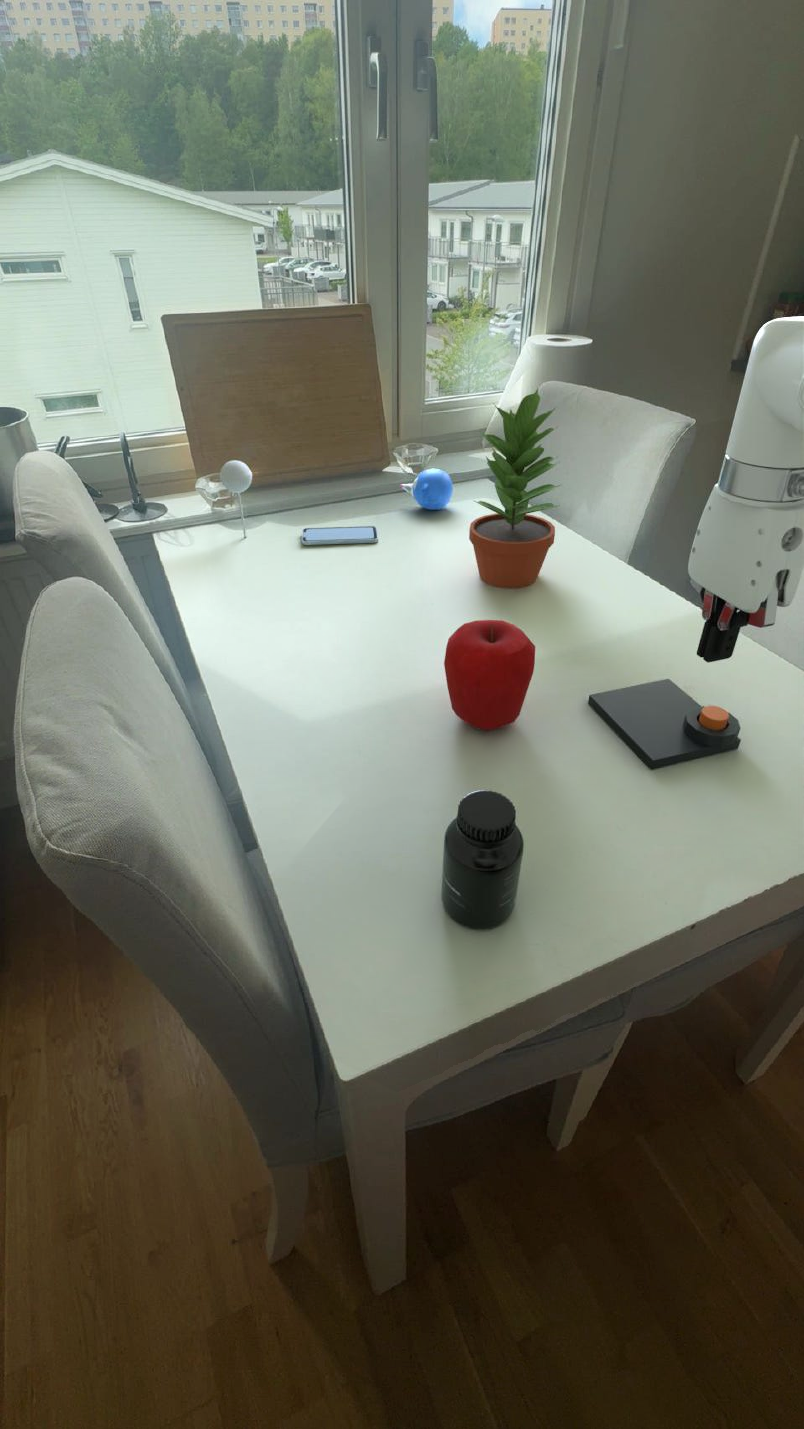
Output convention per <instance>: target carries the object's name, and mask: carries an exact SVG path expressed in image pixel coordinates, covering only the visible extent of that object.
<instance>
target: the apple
mask: <svg viewBox="0 0 804 1429" xmlns="http://www.w3.org/2000/svg"><path fill="white" fill-rule="evenodd" d="M443 661H444V662H443V665H444V672H445V679H446V686H447V691H448V696H449V702H450V705H451V709H452V711H453V712H454V713H455V715H456V716H457V717H458V718H460V719H461V721H463V722H464V723H466V724H468V725H469V726H471V727H473V728H476V729H478V730H481V731H486V732H487V731H488V732H490V731H495V730H498V729H501V728H504V727H507V726H509V725H511V724H514V722H515V721H516V720H517V719H518V717H520V714H521V710H522V709H523V705H524V702H525V699H526V695H527V694H528V693H527V692H528V690H529V687H530V684H531V682H532V681H531V680H532V678H533V675H534V672H535V662H536V645H535V644H534V643H533V641H532V640H531V639H530V637H528V636H527V634H526V633H525V632H524V631H523V630H522V629H520V628H519V627H518V626H516V625H515V624H513V623H510V622H508V621H504V620H499V619H483V620H479V619H478V620H473V621H470V622H466V623H463V624H462V625H460V626H459V627H458V628H457V629H456V630H455V631H454V632H453V633H452V634H451V636H450V637H449V638H448V640H447V643H446V647H445V653H444V660H443Z"/></svg>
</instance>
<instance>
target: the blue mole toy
mask: <svg viewBox="0 0 804 1429" xmlns="http://www.w3.org/2000/svg"><path fill="white" fill-rule="evenodd" d="M399 488H400V489H401V490H404V491H405V492H407V493H408V494H409V495H411V496H412V498H413V499H414V500H415V501H416V502H417V504H418V505H419V506H420V507H421V508H424V509H425V510H430V511H436V510H440V509H443V508H444V507H445V506H447V505H448V504H449V503H450V501H451V499H452V496H453V491H454V486H453V481H452V478H451V477H450V476H449V474H448V473H447V472H446V471H444V470H443V469H439V468H428V469H424V470H423V471H421V472H420V473H419V474H418V475H417V476H416V478H415V479H414V480H413V482H412V483H404V484H403V483H401V484H399Z"/></svg>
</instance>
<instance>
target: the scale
mask: <svg viewBox="0 0 804 1429" xmlns="http://www.w3.org/2000/svg"><path fill="white" fill-rule="evenodd" d="M587 704H588V706H589V707H590V708H591V709H592V710H593V711H594V712H595V713H596V714H597V715H598V716H599V717H600V718H601V719H602V720H603V722H604V723H605V724H606V725H607V726H608V727H609V728H610V729H611V730H613V732H614V733H615V734H616V735H617V736H618V737H619V738H620V739H621V740H622V741H623V742H624V743H625V745H626V746H628V748H629V749H630V750H631V751H632V752H633V753H634V754H635V756H637V757H638V758H639V759H640V760H641V762H642V763H643V764H645V766H646V767H648V769H649V770H650V771H652V770H656V769H660V768H664V767H669V766H673V765H676V764H681V763H686V762H690V761H694V760H697V759H698V760H699V759H701V758H707V757H711V756H715V755H717V754H718V755H719V754H722V753H727V752H731V751H735V750H738V749H739V748H740V744H741V742H742V739H741V738H740V737H739V734H740V731H741V725H740V721H739V719H738V718H737V717H735V716H734V715H733V714H732V713H730V712H728V711H727V712H728V714H729V718H728V721H727V724H726V727H725V728H724V729H723V730H711V729H708V728H706V727H703V726H702V725H701V724H700V723H699V718H700V714H701V711H702V709H703V708H704V707H706V706H705V705H704V706H703V705H701V704H700V703H698V702H697V701H696V700H695V699H694V698H692V697H691V696H690V695H689V694H688V693H686V691H684V690H683V689H682V688H680V687H679V686H678V685H677V684H676V683H675V682H674V681H672V679H670V678H664V679H659V680H655V681H650V682H646V683H641V684H635V685H631V686H626V687H621V688H617V689H611V690H607V691H602V692H596V693H592V694H589V695H588V699H587Z"/></svg>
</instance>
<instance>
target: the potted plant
mask: <svg viewBox="0 0 804 1429" xmlns="http://www.w3.org/2000/svg"><path fill="white" fill-rule="evenodd" d="M540 402H541V396H540V395H539V388H537V389H536V390H535V392H534V393H530V394H527V395H525V396H524V397H523V398H522V399H521V401H520V403H519V405H518V408H517V410H516V412H515V413H514V412H513V410H512V409H511V408H510V409H509V412H507V411H505V410H503V408H501V407H498V406H496V404H495V403H493V405H494V406H495V409H496V410H497V411H498V413H499V414H500V416H501V418H502V426H503V433H504V439H505V440H503V439H502V438H501V437H499V436H497V435H495V434H485V433H483V432H482V431H480V434H481V435H482V436H483V438H484V439H485V440H486V441H487V442H488V443H490V444H491V446H493V447H494V448H493V447H492V448H491V450H492V451H493V452H492V453H491V456H492V458H493V459H494V460H491V459H489V458H488V456H485V458H486V461H487V462H486V464H487V466H488V467H489V469H490V470H491V472H492V473H493V474H494V476H495V478H496V479H497V480H498V481H495V482H494V488H495V491H496V494H497V497H498V500H499V502H500V503H501V504H500V505H502V507H503V508H504V510H503V509H501V508H499V507H497V506H495V505H493V504H492V503H489V502H486V501H482V500H479V501H475V500H474V502H475V503H476V504H478V505H480V506H482V507H484V508H486V509H488V510H490V511H492V512H494V513H491V514H485V515H483V516H480V517H478V518H475V519H474V520H473V521H472V522H470V524H469V533H468V534H469V535H468V540H469V541H470V543H471V544H472V547H473V551H474V556H475V560H476V565H477V571H478V575H479V578H480V579H481V581H483V582H484V583H485V584H488V585H490V586H492V587H496V588H503V589H520V588H526V587H528V586H531V585H533V584H534V583H535V582H536V581H537V580H538V578H539V575H540V572H541V569H542V567H543V564H544V562H545V559H546V557H547V554H548V552H549V549H550V548H551V547H552V546H553V544H554V543H555V536H556V527H555V525H553V523H552V522H551V521H549V520H547V519H546V518H542V517H541V516H540V517H539V516H536V515H532V514H531V513H536V512H540V511H545V510H550V509H554V508H557V507H560V506H561V505H560V504H559V505H554V503H551V502H545V503H540V504H536V505H532V506H529V503H530V500H532V499H534V498H536V497H539V496H542V495H544V494H546V493H548V492H550V491H553V490H555V489H556V488H559V487H560V486H562V485H563V484H558V485H554V484H552V483H551V484H550V483H548V484H543V485H541V486H538V487H535V488H533V489H531V490H529V491H526V490H525V489H527V487H528V483H530V482H531V481H533V480H535V479H536V478H538V477H539V476H541V475H543V474H545V473H546V472H548V471H549V470H551V469H553V468H554V467H555V466H556V465H558V464H559V463H560V461H558V462H556V463H550V462H552V461H554V460H555V459H557V458H558V457H559V456H560V455H558V456H556V457H553V456H546V457H543V458H541V459H539V458H540V457H541V455H542V454H543V453H544V452H545V447H543V446H542V444H539V445H538V446H537V447H535V446H536V444H537V443H538V442H540V441H541V440H542V439H544V438H545V437H547V436H548V435H549V434H550V433H552V432H553V431H554V430H556V429H557V428H558V427H559V425H557V426H556V427H555V428H554V427H549V428H546V429H545V430H544V431H542V432H540V433H538V432H537V430H538V428H539V427H540V426H541V425H542V424H543V423H544V421H546V420H547V418H549V416H550V415H551V414H552V413H553V412H554V411H555V410H556V408H557V406H555V407H554V408H553V409H552V410H548V411H547V412H544V413H541V414H539V415H538V416H536V413H537V410H538V407H539V404H540ZM535 416H536V417H535ZM496 450H497V451H498V452H499V453H498V452H496ZM560 457H561V456H560ZM538 459H539V460H538Z"/></svg>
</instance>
